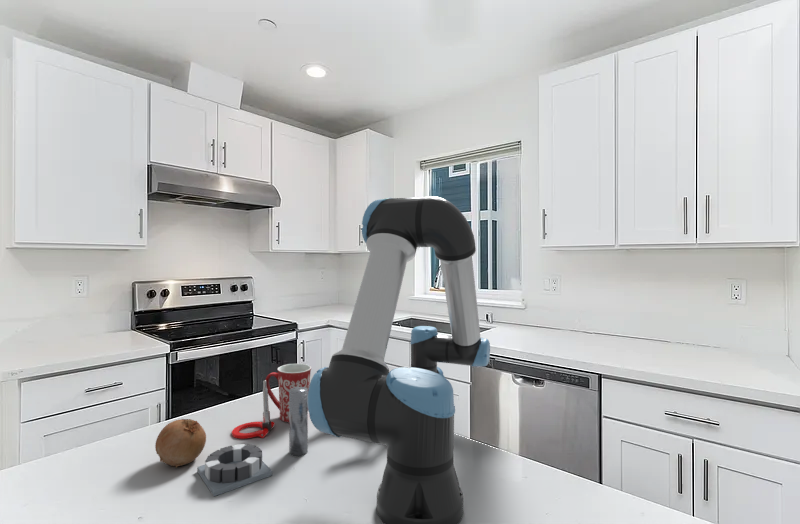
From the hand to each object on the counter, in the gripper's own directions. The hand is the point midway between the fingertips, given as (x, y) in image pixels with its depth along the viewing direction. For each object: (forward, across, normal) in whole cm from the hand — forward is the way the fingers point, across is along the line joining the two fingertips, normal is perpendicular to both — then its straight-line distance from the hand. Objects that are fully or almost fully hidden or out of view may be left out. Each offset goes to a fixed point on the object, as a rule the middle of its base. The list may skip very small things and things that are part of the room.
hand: (328, 407), depth 97 cm
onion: (+29, +12, -8) cm, 32 cm away
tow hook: (+12, +17, -8) cm, 22 cm away
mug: (+1, +20, -8) cm, 21 cm away
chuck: (+22, 0, -8) cm, 23 cm away
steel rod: (+8, 0, -8) cm, 11 cm away
